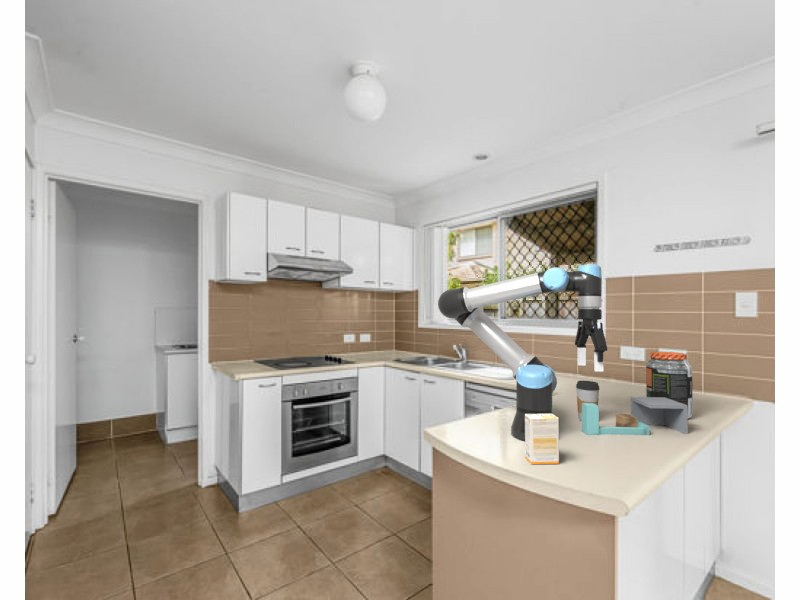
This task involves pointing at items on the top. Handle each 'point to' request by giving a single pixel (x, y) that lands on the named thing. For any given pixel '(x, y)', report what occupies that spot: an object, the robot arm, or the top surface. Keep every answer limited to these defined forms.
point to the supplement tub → (670, 378)
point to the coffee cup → (586, 394)
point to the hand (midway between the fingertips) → (589, 368)
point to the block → (626, 420)
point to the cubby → (660, 412)
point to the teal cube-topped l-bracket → (592, 427)
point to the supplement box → (542, 438)
